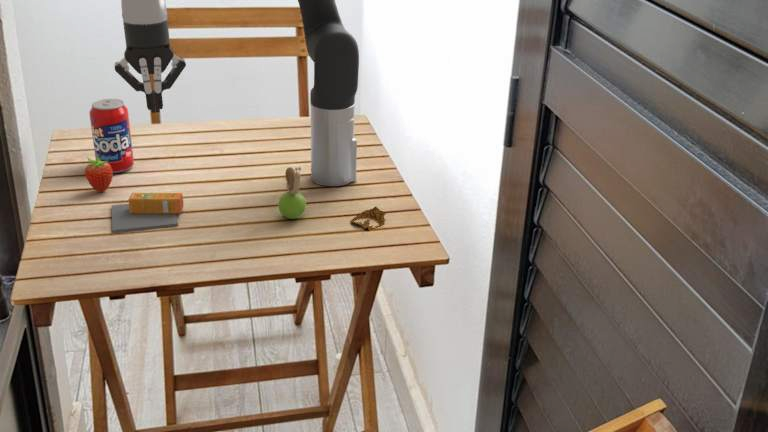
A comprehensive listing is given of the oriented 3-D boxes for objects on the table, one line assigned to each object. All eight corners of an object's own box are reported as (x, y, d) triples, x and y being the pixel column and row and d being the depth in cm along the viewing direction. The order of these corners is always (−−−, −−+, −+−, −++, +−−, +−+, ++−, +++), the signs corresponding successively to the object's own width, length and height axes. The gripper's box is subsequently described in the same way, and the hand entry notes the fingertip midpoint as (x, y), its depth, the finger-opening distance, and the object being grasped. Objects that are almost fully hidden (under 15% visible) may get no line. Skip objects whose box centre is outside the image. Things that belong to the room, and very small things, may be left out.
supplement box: (179, 197, 162) (127, 199, 161) (181, 213, 163) (129, 215, 163) (182, 190, 165) (130, 192, 164) (184, 206, 166) (133, 208, 166)
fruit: (116, 186, 175) (111, 151, 171) (113, 196, 170) (108, 160, 167) (89, 187, 174) (84, 152, 171) (86, 198, 170) (80, 161, 166)
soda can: (133, 159, 188) (126, 96, 181) (135, 173, 181) (128, 107, 174) (96, 163, 186) (87, 98, 179) (97, 177, 179) (88, 110, 172)
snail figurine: (286, 227, 160) (285, 170, 155) (274, 214, 166) (272, 158, 160) (312, 222, 163) (312, 165, 157) (300, 209, 168) (299, 153, 162)
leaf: (344, 222, 164) (344, 215, 163) (371, 209, 168) (371, 202, 167) (366, 237, 160) (366, 230, 159) (392, 223, 164) (393, 216, 163)
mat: (173, 201, 169) (173, 199, 169) (178, 225, 160) (177, 223, 160) (112, 207, 166) (111, 205, 166) (112, 232, 157) (112, 230, 156)
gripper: (181, 10, 151) (190, 102, 159) (105, 14, 148) (117, 107, 155) (185, 20, 145) (193, 115, 152) (105, 24, 141) (118, 121, 149)
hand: (155, 111), depth 154 cm, fingers closed
